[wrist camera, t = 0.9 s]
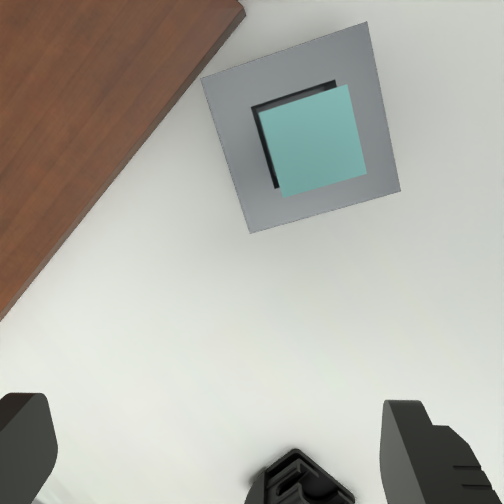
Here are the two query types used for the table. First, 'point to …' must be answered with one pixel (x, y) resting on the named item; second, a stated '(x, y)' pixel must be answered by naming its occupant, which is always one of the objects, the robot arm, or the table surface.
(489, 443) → the table surface
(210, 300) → the table surface
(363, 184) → the grey square socket block
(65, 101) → the flat brown board
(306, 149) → the plug
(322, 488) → the end cap
